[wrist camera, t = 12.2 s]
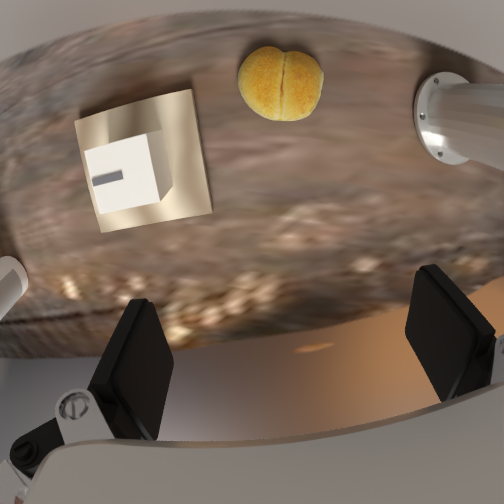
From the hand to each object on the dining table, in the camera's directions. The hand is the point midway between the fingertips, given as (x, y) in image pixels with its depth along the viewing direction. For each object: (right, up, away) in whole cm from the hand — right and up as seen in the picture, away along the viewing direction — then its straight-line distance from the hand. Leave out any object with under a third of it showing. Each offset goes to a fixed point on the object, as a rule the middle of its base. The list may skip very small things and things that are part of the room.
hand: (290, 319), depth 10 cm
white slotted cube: (-14, +12, +21) cm, 28 cm away
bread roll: (+2, +21, +20) cm, 29 cm away
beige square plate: (-14, +13, +23) cm, 29 cm away
